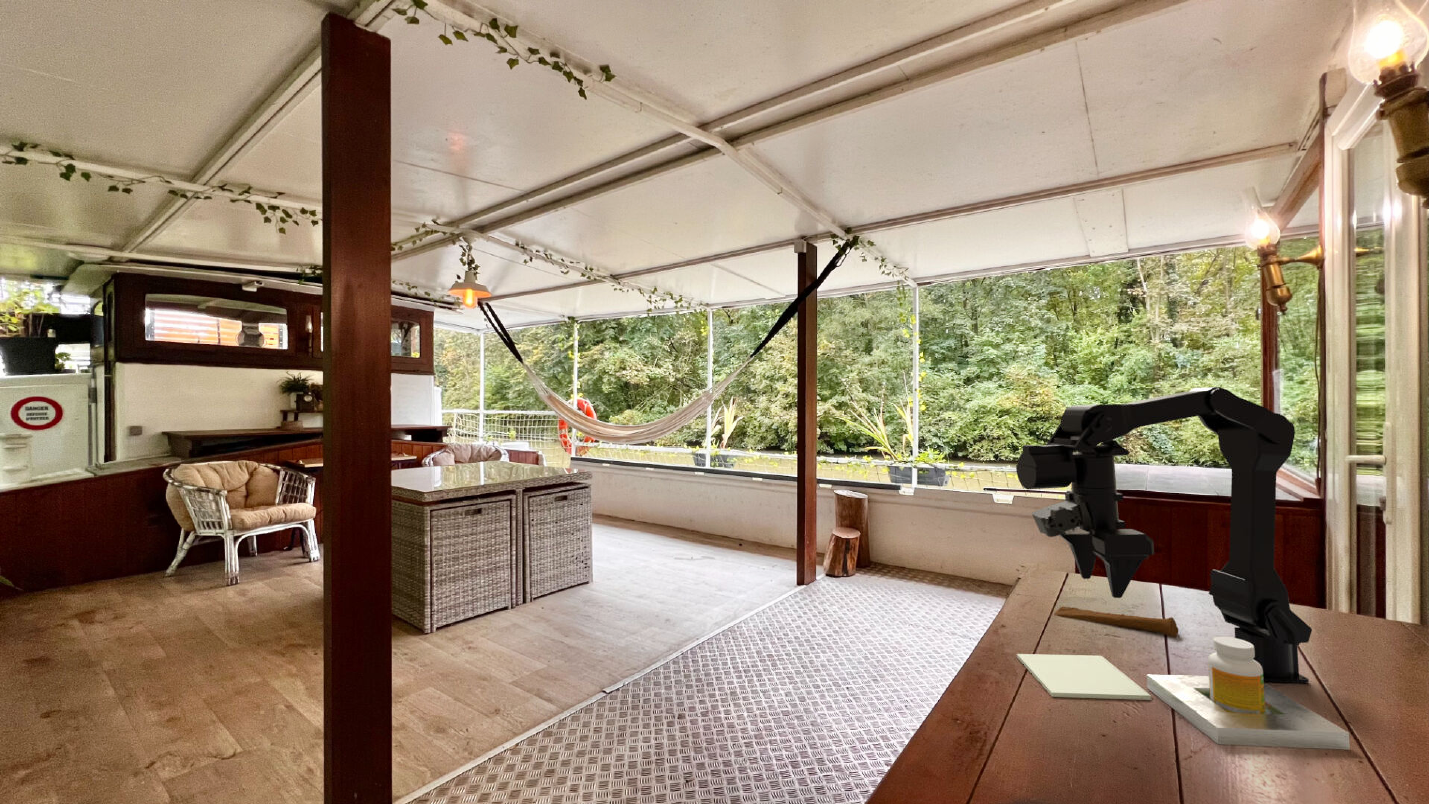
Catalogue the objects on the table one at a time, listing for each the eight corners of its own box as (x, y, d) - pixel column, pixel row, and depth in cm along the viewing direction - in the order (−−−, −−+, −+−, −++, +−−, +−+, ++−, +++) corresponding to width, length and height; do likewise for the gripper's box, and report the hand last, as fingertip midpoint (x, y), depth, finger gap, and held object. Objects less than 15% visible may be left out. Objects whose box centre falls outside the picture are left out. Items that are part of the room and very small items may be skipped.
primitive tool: (1053, 617, 112) (1052, 599, 112) (1060, 609, 116) (1059, 592, 116) (1177, 642, 99) (1176, 622, 99) (1180, 632, 103) (1179, 613, 103)
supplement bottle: (1275, 730, 71) (1270, 652, 71) (1221, 723, 73) (1217, 647, 73) (1253, 708, 76) (1249, 636, 76) (1203, 702, 78) (1199, 632, 78)
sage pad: (1101, 659, 92) (1101, 655, 92) (1150, 699, 79) (1150, 695, 79) (1017, 657, 94) (1016, 653, 94) (1052, 696, 81) (1051, 692, 81)
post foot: (1254, 691, 81) (1253, 677, 81) (1349, 749, 67) (1348, 732, 67) (1147, 688, 83) (1146, 674, 83) (1218, 744, 69) (1217, 727, 69)
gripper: (1015, 480, 97) (1021, 570, 97) (1063, 497, 79) (1071, 609, 78) (1085, 477, 95) (1092, 570, 95) (1152, 494, 77) (1160, 609, 77)
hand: (1100, 587), depth 86 cm, fingers open, 9 cm apart
